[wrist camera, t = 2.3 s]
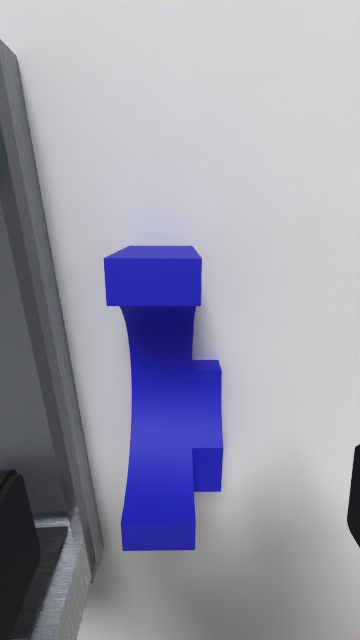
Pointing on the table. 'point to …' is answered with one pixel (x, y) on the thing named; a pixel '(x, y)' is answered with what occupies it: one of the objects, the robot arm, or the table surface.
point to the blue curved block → (165, 396)
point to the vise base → (40, 390)
